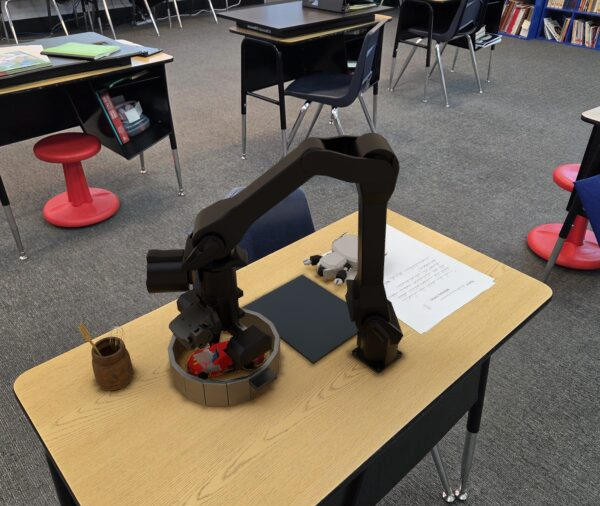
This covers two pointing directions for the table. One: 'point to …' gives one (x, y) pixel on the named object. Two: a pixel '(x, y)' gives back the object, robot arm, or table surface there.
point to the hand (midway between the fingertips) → (226, 360)
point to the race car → (215, 362)
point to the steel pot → (234, 388)
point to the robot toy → (337, 259)
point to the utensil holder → (110, 361)
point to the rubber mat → (307, 317)
